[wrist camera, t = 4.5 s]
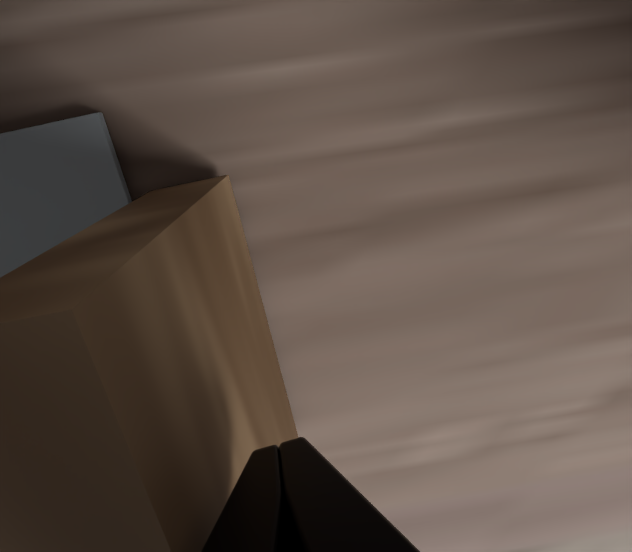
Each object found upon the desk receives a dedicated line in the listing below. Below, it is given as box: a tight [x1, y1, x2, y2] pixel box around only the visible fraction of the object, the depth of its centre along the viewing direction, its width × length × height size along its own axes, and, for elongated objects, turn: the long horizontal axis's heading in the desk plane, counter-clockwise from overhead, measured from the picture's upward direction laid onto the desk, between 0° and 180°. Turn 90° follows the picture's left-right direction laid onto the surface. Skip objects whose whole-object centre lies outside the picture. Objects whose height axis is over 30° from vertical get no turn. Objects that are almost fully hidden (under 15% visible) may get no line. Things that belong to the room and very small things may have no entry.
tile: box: [0, 175, 298, 552], centre depth 10 cm, size 2×8×8 cm, turn 12°
